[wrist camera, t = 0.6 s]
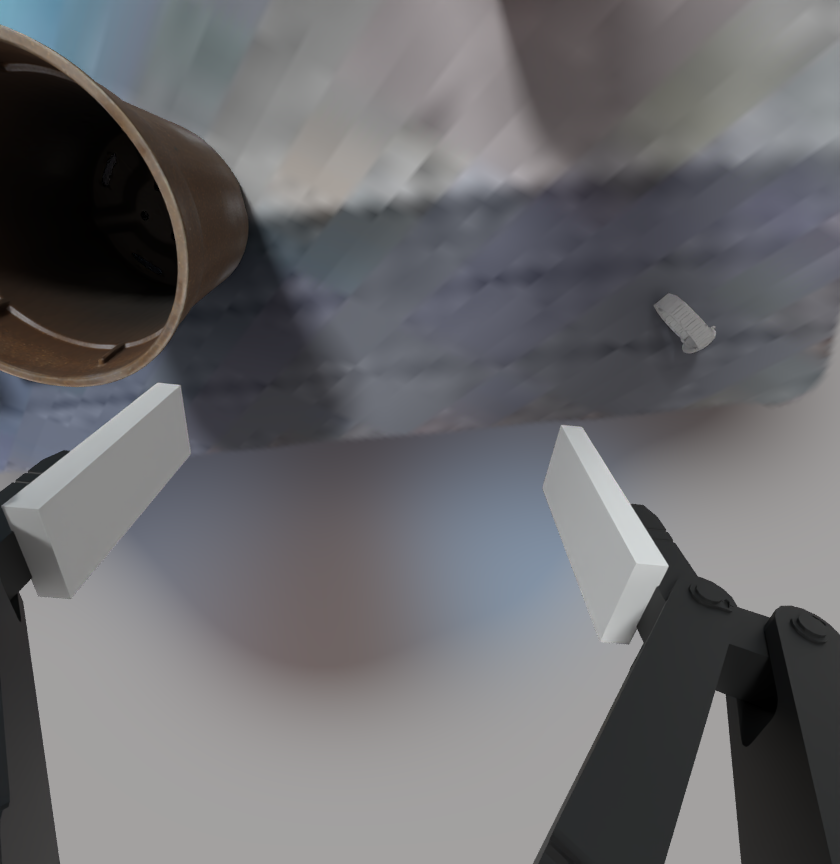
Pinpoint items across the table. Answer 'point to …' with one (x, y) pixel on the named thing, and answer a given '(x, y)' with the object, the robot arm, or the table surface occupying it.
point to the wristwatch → (685, 323)
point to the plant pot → (100, 223)
